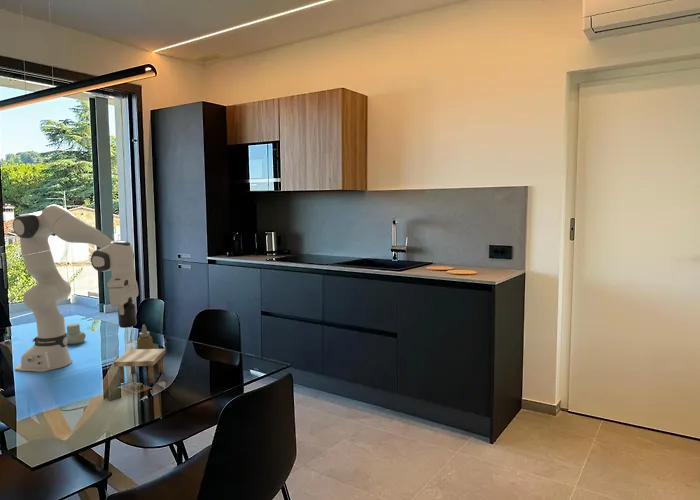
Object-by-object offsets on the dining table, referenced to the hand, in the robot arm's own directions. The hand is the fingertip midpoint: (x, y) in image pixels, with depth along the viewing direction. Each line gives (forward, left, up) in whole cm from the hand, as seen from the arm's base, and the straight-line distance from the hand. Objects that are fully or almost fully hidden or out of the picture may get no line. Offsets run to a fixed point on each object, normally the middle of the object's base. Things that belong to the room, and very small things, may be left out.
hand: (126, 311), depth 208 cm
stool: (+4, +3, -30) cm, 30 cm away
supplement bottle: (0, 0, -6) cm, 6 cm away
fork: (+19, -12, -30) cm, 38 cm away
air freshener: (-50, +55, -30) cm, 80 cm away
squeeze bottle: (-1, +22, -30) cm, 37 cm away
